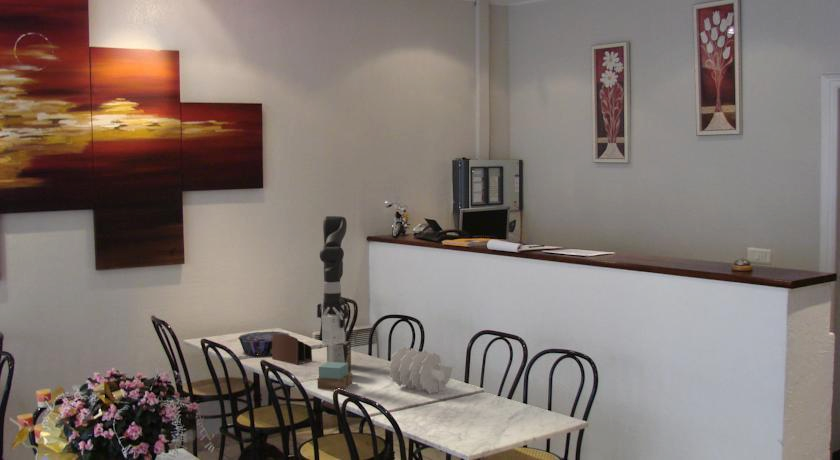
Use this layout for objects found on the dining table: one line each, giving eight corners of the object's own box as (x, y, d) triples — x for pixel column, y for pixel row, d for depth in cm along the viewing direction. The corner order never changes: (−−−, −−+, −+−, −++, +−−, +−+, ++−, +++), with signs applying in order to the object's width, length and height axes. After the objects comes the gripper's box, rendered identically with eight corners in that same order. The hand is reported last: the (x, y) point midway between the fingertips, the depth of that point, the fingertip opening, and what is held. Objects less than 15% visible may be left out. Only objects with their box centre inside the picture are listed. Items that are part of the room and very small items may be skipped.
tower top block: (328, 372, 389) (327, 361, 389) (348, 373, 386) (348, 363, 386) (318, 377, 379) (318, 366, 379) (339, 379, 376) (339, 368, 376)
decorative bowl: (235, 351, 462) (233, 334, 461) (284, 343, 473) (283, 325, 472) (245, 361, 439) (243, 343, 438) (297, 352, 450) (295, 334, 449)
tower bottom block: (327, 382, 391) (327, 371, 390) (352, 384, 387) (352, 373, 387) (317, 389, 379) (317, 378, 379) (342, 391, 376) (342, 380, 375)
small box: (334, 340, 387) (334, 312, 385) (344, 342, 383) (344, 313, 382) (321, 343, 380) (321, 314, 379) (331, 345, 376) (331, 316, 375)
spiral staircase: (433, 405, 365) (391, 392, 382) (458, 380, 376) (415, 368, 393) (422, 371, 358) (379, 359, 374) (447, 347, 369) (405, 336, 385)
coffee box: (346, 379, 395) (345, 344, 393) (333, 378, 396) (332, 344, 395) (351, 374, 404) (351, 340, 402) (338, 373, 405) (338, 340, 404)
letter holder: (297, 365, 423) (296, 337, 422) (271, 359, 436) (271, 332, 435) (312, 361, 431) (311, 334, 429) (287, 356, 444) (286, 329, 442)
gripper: (350, 290, 381) (350, 326, 383) (320, 289, 385) (321, 325, 386) (344, 293, 374) (345, 329, 376) (314, 292, 378) (315, 328, 379)
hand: (333, 327), depth 381 cm, fingers closed on small box, 8 cm apart
